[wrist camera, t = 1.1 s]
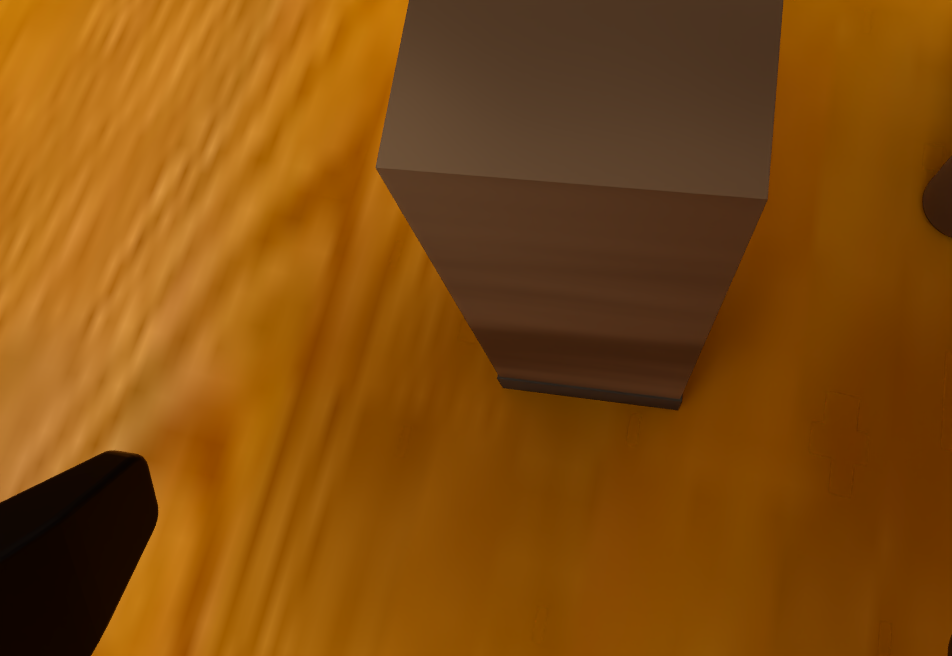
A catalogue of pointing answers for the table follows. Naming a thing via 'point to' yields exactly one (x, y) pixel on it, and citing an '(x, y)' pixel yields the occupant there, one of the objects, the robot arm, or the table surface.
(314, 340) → the table surface
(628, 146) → the doorstop post
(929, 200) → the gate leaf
